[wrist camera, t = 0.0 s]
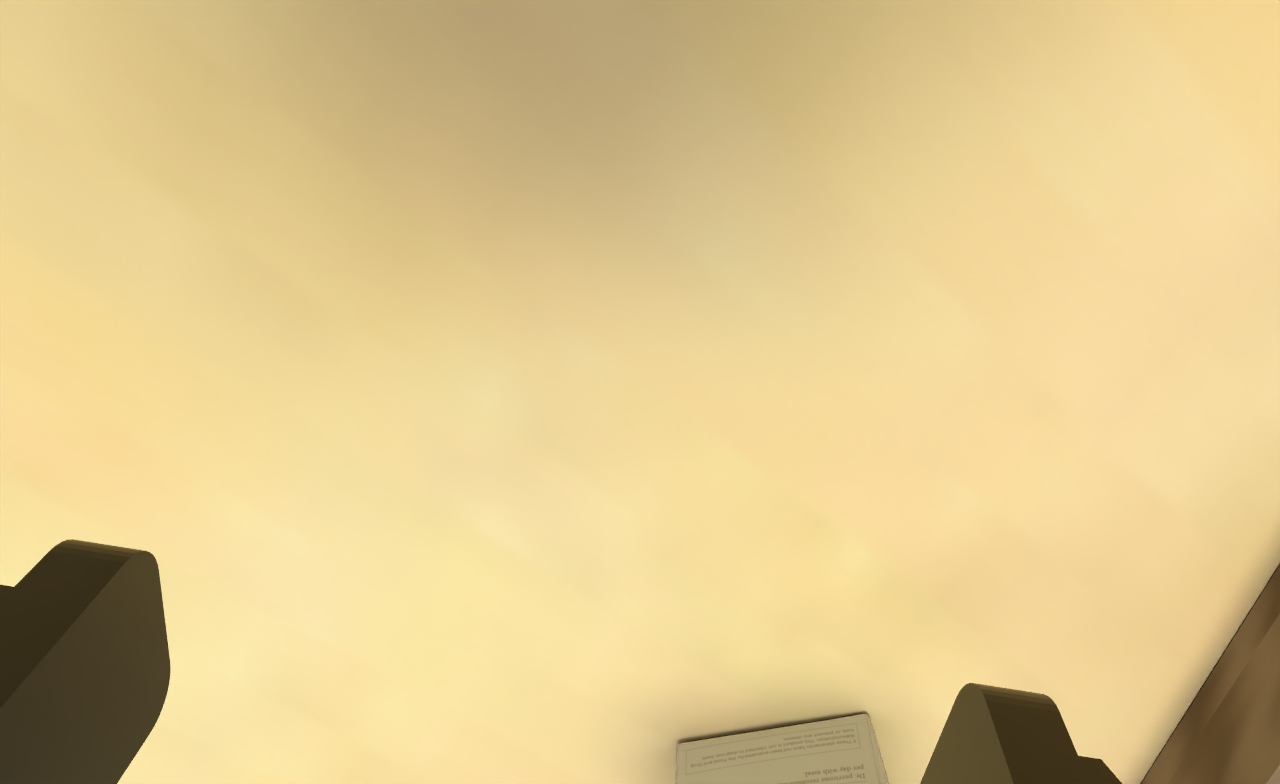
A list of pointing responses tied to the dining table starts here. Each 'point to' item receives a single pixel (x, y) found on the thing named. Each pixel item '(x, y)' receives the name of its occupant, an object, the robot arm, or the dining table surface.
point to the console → (1233, 710)
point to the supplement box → (787, 756)
